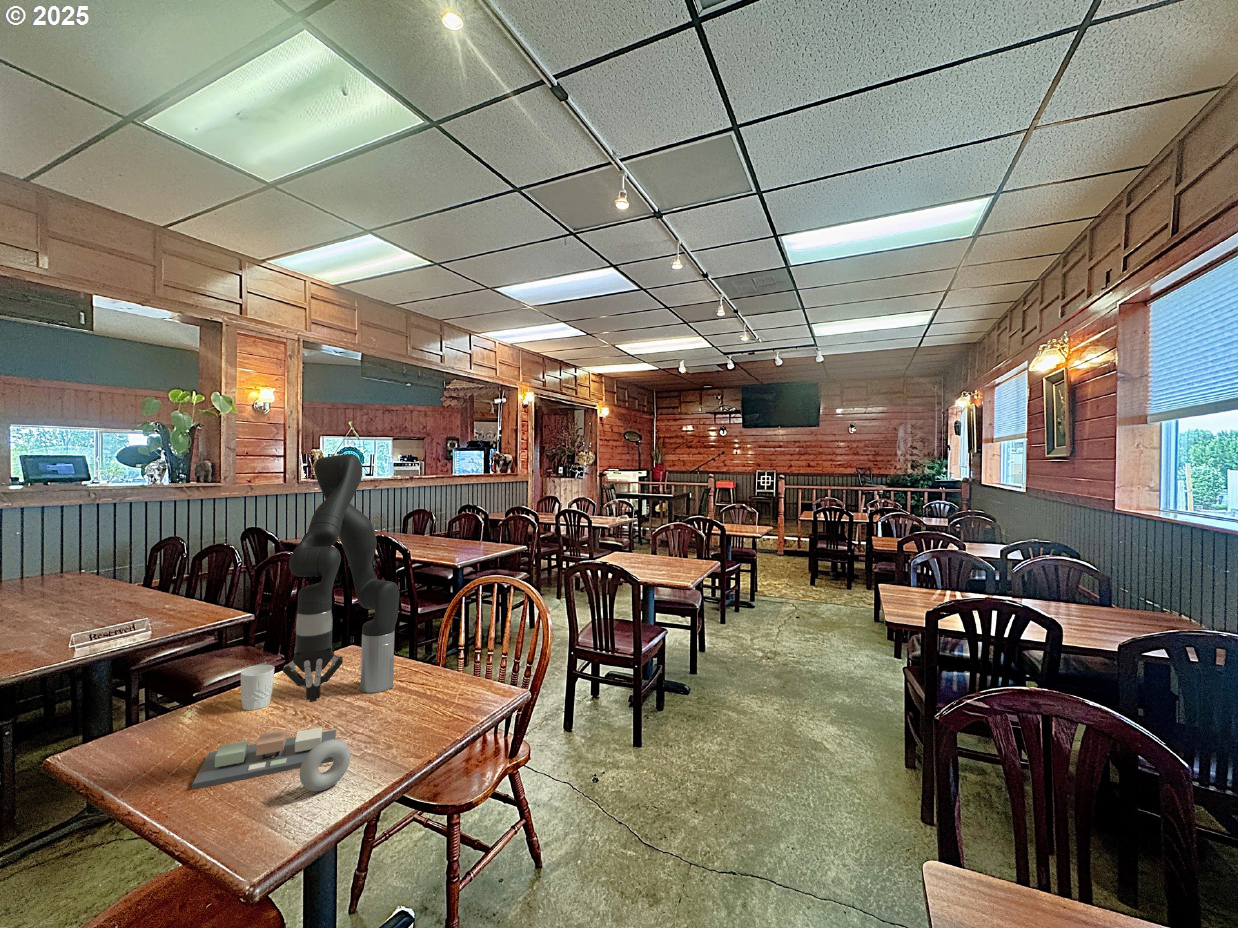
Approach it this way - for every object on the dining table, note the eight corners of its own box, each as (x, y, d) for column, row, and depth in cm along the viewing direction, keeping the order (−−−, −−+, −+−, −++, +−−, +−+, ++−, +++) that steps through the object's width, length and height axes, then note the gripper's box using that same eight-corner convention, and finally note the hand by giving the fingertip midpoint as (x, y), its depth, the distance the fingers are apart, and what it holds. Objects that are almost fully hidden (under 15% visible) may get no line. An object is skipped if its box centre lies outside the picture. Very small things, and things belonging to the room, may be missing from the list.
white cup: (260, 712, 140) (261, 676, 141) (232, 710, 141) (233, 674, 141) (279, 699, 148) (280, 665, 148) (253, 698, 148) (254, 664, 149)
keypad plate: (335, 734, 130) (336, 728, 130) (333, 760, 119) (333, 754, 119) (209, 757, 119) (209, 750, 119) (192, 789, 107) (192, 782, 107)
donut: (345, 774, 114) (347, 729, 114) (352, 780, 112) (354, 735, 112) (295, 795, 106) (297, 747, 106) (302, 802, 104) (303, 754, 104)
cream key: (321, 742, 125) (322, 726, 126) (320, 753, 121) (320, 737, 121) (297, 746, 123) (297, 731, 123) (294, 758, 118) (295, 741, 119)
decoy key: (286, 745, 122) (286, 729, 122) (282, 756, 117) (283, 740, 118) (260, 749, 120) (260, 733, 120) (255, 761, 115) (256, 744, 115)
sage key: (247, 756, 119) (248, 739, 119) (243, 768, 114) (243, 751, 114) (220, 761, 116) (221, 744, 116) (214, 773, 112) (215, 756, 112)
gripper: (345, 621, 129) (344, 688, 129) (283, 628, 122) (282, 699, 123) (345, 630, 122) (343, 701, 122) (279, 638, 116) (278, 713, 116)
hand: (313, 700), depth 122 cm, fingers closed
